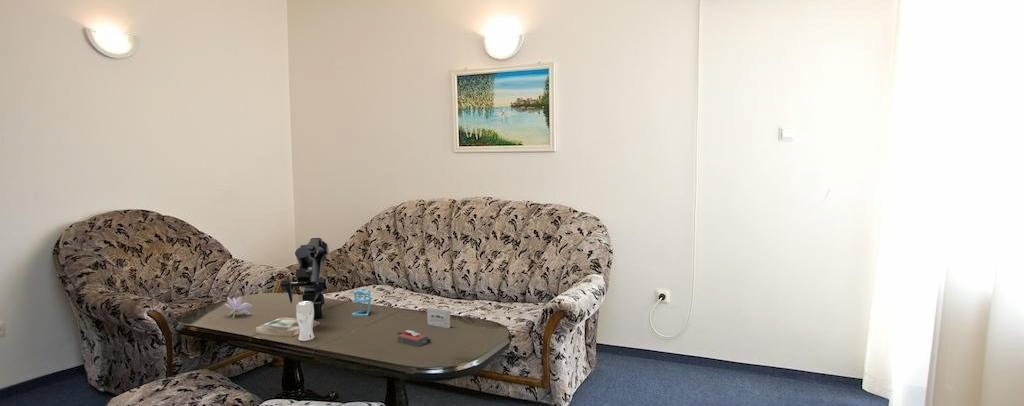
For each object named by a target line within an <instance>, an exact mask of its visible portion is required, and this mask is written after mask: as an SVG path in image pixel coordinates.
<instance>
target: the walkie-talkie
mask: <svg viewBox="0 0 1024 406" xmlns="http://www.w3.org/2000/svg"><path fill="white" fill-rule="evenodd" d="M396 333H398V334H399V335H398V336H397V342H398V343H400V342H401V343H402V344H404V345H409V346H413V347H421V346H424V345H425V344H428V343H429V342H431V341H432V339H431V338H429V336H427V335H423V334H421V333H420V332H419V333H418V332H416V331H413V330H410V329H407V330H397V331H396Z"/></svg>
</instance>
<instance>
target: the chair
mask: <svg viewBox="0 0 1024 406" xmlns="http://www.w3.org/2000/svg"><path fill="white" fill-rule="evenodd" d="M367 294H368V295H367ZM353 295H354V300H353V301H352V302H353V303H357V304H358V305H359V307H360V308H361V310H358V311H355V312H352V313H351V316H352V317H353V316H354V317H369V314H370V312H371V311H370V309H371V302H372V300H373V299H372V297H371V290H369V289H365V290H362V289H356V290H355V289H354V292H353ZM357 295H358V296H357ZM362 295H363V297H362ZM362 303H363V304H365V303H366V304H367V309H366V311H365V308H364V306H363V304H362ZM364 312H366V313H364Z"/></svg>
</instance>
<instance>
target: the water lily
mask: <svg viewBox="0 0 1024 406" xmlns="http://www.w3.org/2000/svg"><path fill="white" fill-rule="evenodd" d="M226 299H227V301H228V303H229V304H228V303H224V306H225V307H227V308H229V309H231V311H230V315H232V320H234V319H235V315H236V314H237V313H241V314H243V315H246V316H252V315H253V314H252V312H249V311H248V310H247V309H250V308H251V307H253V304H250V303H248V302H243V298H242V297H241V296H239V297H237V298H235V297H233V298H232V299H231V298H230V297H228V296H227V297H226ZM242 302H243V303H242Z"/></svg>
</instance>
